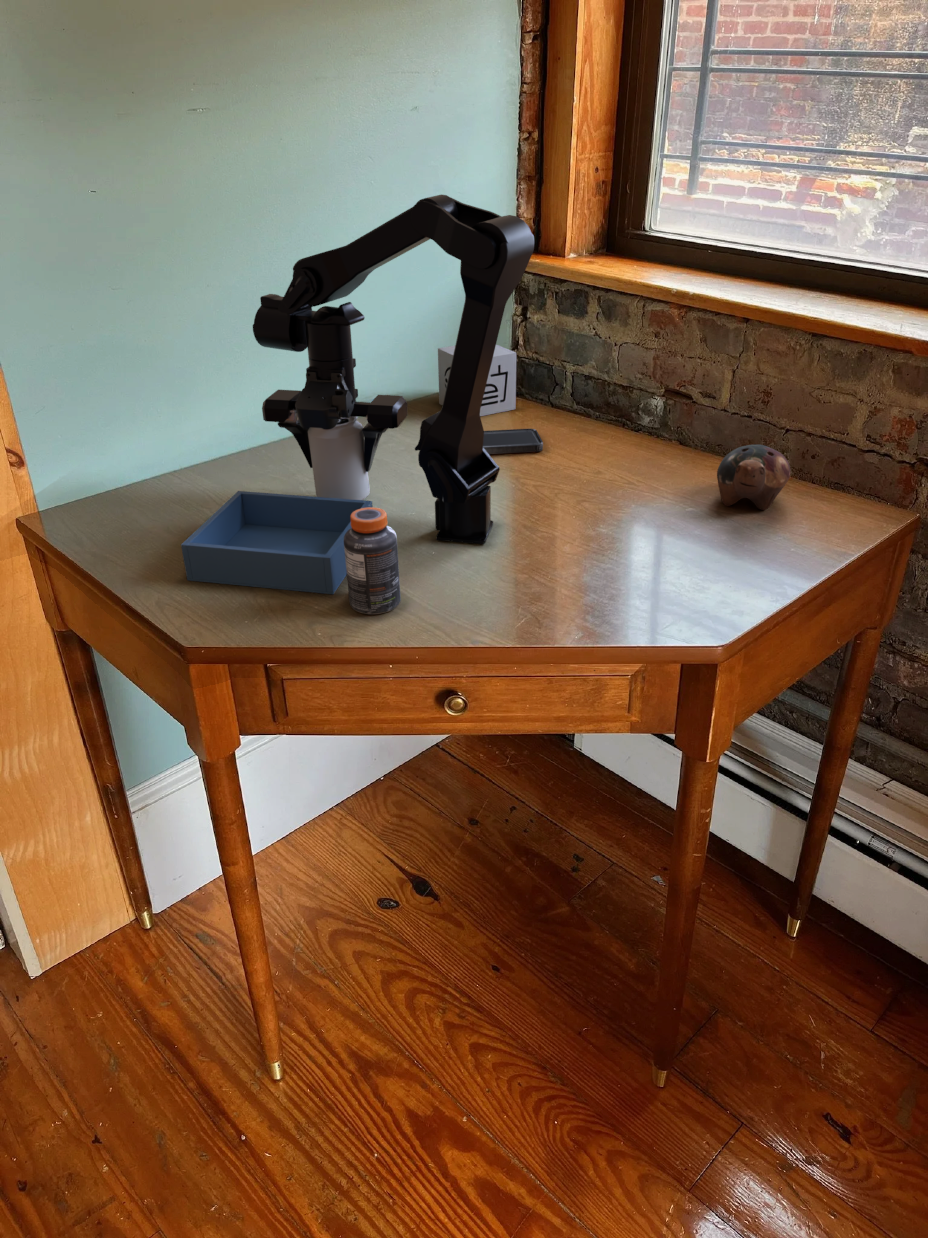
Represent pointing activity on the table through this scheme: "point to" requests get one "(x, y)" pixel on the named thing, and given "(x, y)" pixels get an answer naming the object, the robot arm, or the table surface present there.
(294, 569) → the tub
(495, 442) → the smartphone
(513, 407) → the icon cube
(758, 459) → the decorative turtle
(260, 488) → the table surface
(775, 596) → the table surface
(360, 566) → the pill bottle
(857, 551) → the table surface
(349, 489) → the can
